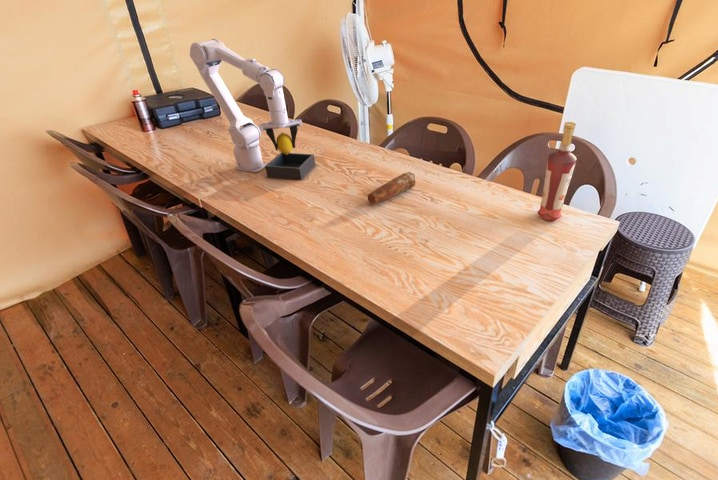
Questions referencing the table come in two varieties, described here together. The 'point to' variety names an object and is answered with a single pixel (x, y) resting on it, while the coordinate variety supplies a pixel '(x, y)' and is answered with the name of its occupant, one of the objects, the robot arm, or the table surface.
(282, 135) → the lemon
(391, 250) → the table surface
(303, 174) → the bin
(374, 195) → the brown cylinder
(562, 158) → the liquor
